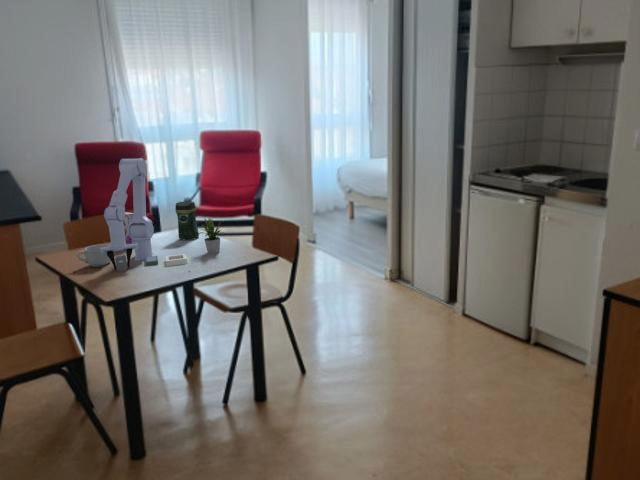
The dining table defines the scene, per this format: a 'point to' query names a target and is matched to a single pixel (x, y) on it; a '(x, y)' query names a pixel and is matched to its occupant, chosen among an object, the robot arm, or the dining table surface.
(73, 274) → the dining table surface
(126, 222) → the candy bar box
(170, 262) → the outlet plate
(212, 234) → the house plant
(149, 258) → the phone slab
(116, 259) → the plug
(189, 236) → the coffee jar
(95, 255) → the teacup
